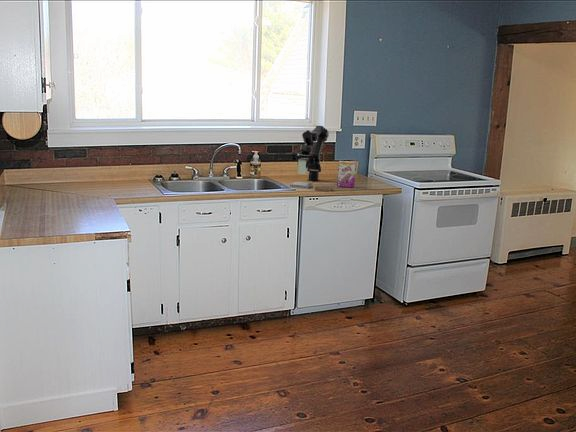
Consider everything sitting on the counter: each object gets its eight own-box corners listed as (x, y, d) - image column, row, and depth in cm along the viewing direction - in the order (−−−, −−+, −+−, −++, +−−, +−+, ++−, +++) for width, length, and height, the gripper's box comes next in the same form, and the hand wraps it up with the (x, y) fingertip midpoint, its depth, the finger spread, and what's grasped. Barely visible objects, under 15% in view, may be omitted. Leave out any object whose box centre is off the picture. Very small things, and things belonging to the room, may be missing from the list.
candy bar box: (336, 186, 378) (338, 161, 374) (337, 185, 382) (338, 160, 379) (354, 187, 377) (356, 162, 373) (354, 186, 381) (356, 161, 378)
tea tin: (299, 172, 375) (300, 158, 373) (307, 173, 374) (308, 159, 372) (297, 173, 371) (298, 159, 369) (305, 174, 370) (306, 160, 368)
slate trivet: (295, 183, 382) (296, 181, 381) (313, 185, 378) (313, 183, 378) (290, 186, 370) (290, 184, 370) (308, 188, 367) (308, 186, 366)
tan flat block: (312, 188, 368) (312, 183, 368) (328, 188, 369) (328, 183, 369) (314, 190, 360) (314, 185, 360) (330, 190, 362) (330, 186, 361)
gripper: (292, 139, 374) (285, 158, 367) (320, 141, 369) (314, 160, 361) (295, 150, 383) (289, 169, 376) (322, 152, 378) (317, 171, 370)
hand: (302, 167), depth 370 cm, fingers closed on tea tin, 5 cm apart
